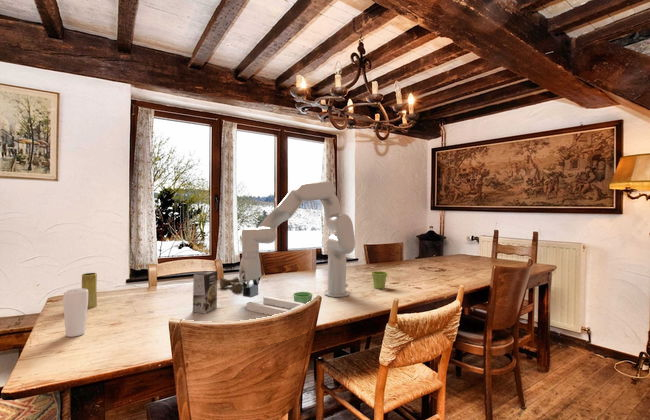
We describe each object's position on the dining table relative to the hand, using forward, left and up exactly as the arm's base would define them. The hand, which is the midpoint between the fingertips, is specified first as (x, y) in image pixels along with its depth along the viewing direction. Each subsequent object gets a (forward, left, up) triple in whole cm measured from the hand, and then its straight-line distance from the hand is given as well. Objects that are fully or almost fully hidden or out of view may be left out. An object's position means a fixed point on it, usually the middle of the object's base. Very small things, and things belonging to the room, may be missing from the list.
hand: (251, 293), depth 150 cm
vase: (+41, -56, -5) cm, 69 cm away
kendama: (-16, -28, -5) cm, 33 cm away
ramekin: (-14, +19, -5) cm, 24 cm away
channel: (+1, +15, -5) cm, 16 cm away
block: (0, 0, -1) cm, 1 cm away
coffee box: (+17, -11, -5) cm, 20 cm away
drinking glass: (+59, -26, -5) cm, 64 cm away
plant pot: (-63, +39, -5) cm, 75 cm away
